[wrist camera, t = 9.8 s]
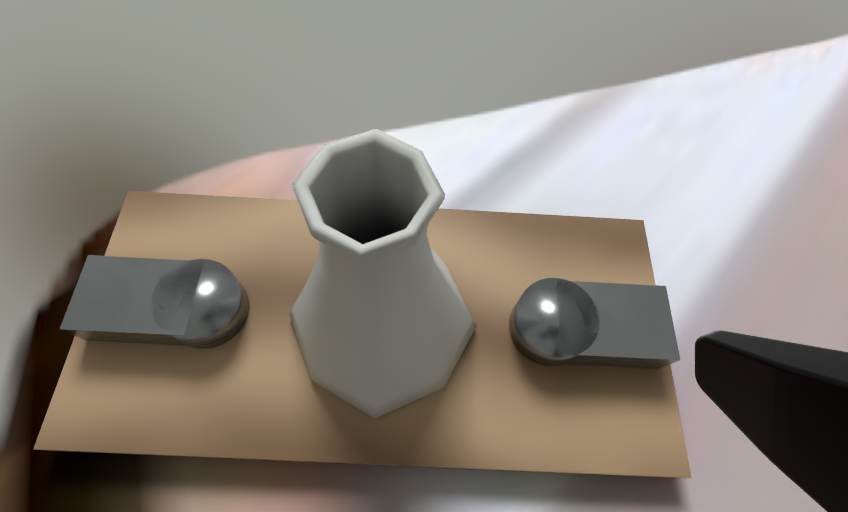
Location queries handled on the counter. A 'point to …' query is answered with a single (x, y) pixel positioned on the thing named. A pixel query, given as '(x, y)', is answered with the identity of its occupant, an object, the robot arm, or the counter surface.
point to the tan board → (332, 416)
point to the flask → (376, 276)
